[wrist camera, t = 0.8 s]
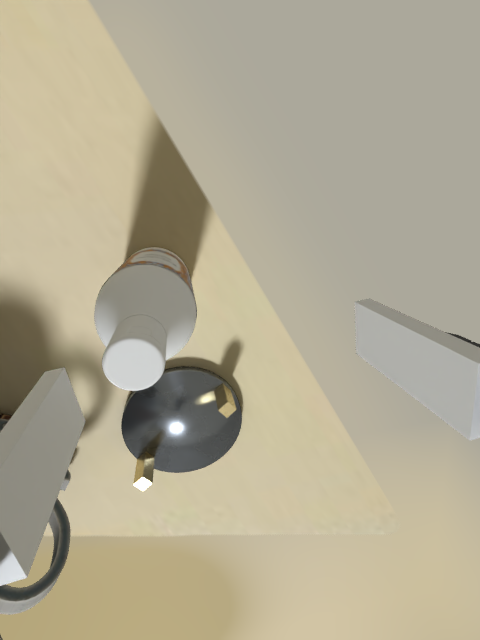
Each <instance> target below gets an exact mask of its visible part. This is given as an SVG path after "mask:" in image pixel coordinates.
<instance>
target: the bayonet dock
mask: <svg viewBox="0 0 480 640" xmlns="http://www.w3.org/2000/svg"><path fill="white" fill-rule="evenodd" d="M241 422H242V414H241V408H240V405H239V402H238V399H237V396H236V394H235V392H234V390H233V389H232V388H231V386H230V385H229V384H228V383H227V382H226V381H225V380H224V379H222V378H221V377H220V376H218V375H216V374H215V373H213V372H210V371H208V370H205V369H201V368H196V367H175V368H170V369H166V370H164V372H163V374H162V376H161V377H160V379H159V380H158V381H157V382H156V383H155V384H153V385H152V386H150V387H148V388H146V389H143V390H138V391H133V393H132V394H131V395H130V397H129V399H128V401H127V403H126V406H125V409H124V413H123V418H122V435H123V438H124V441H125V443H126V446H127V447H128V449H129V450H130V452H131V453H132V454H133V455H134V456H135V457H136V458H137V465H136V471H135V478H134V484H133V485H134V486H136V487H137V488H139V489H141V490H142V491H144V490H145V489H146V488H147V487H149V486H150V485H151V484H152V482H153V470H154V469H157V470H160V471H165V472H174V473H179V472H189V471H194V470H198V469H201V468H204V467H206V466H208V465H210V464H212V463H214V462H215V461H217V460H218V459H220V458H221V457H222V456H223V455H224V454H226V453H227V452H228V450H229V449H230V448H231V447H232V446H233V444H234V442H235V441H236V439H237V437H238V435H239V432H240V428H241Z"/></svg>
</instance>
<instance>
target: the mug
mask: <svg viewBox="0 0 480 640" xmlns="http://www.w3.org/2000/svg"><path fill="white" fill-rule="evenodd" d="M11 417H12V416H9V415H0V432H1V431H2V429H3V428H4V427H5V425H6V424H7V423H8V421H9V420H10V418H11ZM70 478H71V475H70V472H69V471H68V470H67V472H66V475H65V478H64V480H63V483H62V486H61V489H60V490H64V491H65V489H66V487H67V485H68V483H69V481H70ZM48 522H49V524H50V526H51V529H52V532H53V536H54V550H53V557H52V563H51V566H50V569H49V571H48V572H47V573H46V574H45V575H44V576H43V577H42V578H41V579H40V580H39V581H37V582H36V583H34V584H33V585H31V586H28V587H23V588H16V587H11V586H8V585H6V584H5V585H2V586H0V614H9V615H10V614H16V613H21V612H23V611H26V610H28V609H30V608H32V607H33V606H35V605H36V604H37V603H39V602H40V601H41V600H42V599H43V598H44V597H45V596H46V595H47V593H49V591H50V590H51V589H52V587H53V586H54V584H55V582H56V580H57V578H58V576H59V575H60V573H61V571H62V569H63V567H64V565H65V562H66V559H67V555H68V551H69V543H70V524H69V520H68V517H67V514H66V512H65V510H64V508H63V506H62V504H61V503H60V501H59V500H58V498H57V499H56V502H55V505H54V507H53V510H52V513H51V515H50V518H49V521H48Z"/></svg>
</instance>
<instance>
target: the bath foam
mask: <svg viewBox="0 0 480 640" xmlns="http://www.w3.org/2000/svg"><path fill="white" fill-rule="evenodd" d="M196 317H197V308H196V302H195V297H194V293H193V288H192V284H191V279H190V275H189V272H188V269H187V267H186V265H185V264H184V262H183V261H182V260H181V259H180V258H179V257H178V256H177V255H176V254H174V253H173V252H171V251H169V250H167V249H163V248H158V247H150V248H145V249H142V250H139V251H137V252H135V253H134V254H133V255H131V256H130V257H129V258H128V259H127V260H126V261H125V262H124V263H123V264H122V265H121V266H120V267H119V268H118V269H117V270H116V271H115V272H114V273H113V274H112V276H111V277H110V278H109V279H108V280H107V281H106V282H105V283H104V285H103V286H102V288H101V290H100V292H99V294H98V297H97V300H96V305H95V313H94V319H95V326H96V330H97V332H98V335H99V337H100V339H101V341H102V342H103V344H104V345H105V346H106V349H105V352H104V354H103V358H102V367H103V371H104V373H105V375H106V377H107V379H108V380H109V381H110V382H111V383H112V384H114V385H115V386H117V387H119V388H121V389H124V390H129V391H138V390H143V389H146V388H148V387H150V386H152V385H153V384H155V383H156V382H157V381H158V380H159V379H160V377H161V376H162V374H163V372H164V369H165V362H166V360H167V359H169V358H171V357H173V356H174V355H175V354H177V353H178V352H179V351H180V350H181V349H182V348H183V347H184V346H185V345H186V343H187V342H188V340H189V339H190V337H191V335H192V333H193V330H194V327H195V323H196Z"/></svg>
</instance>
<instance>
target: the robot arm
mask: <svg viewBox="0 0 480 640" xmlns="http://www.w3.org/2000/svg"><path fill="white" fill-rule="evenodd" d="M355 327H356V354H357V355H359V356H360V357H361V358H362V359H364V360H365V361H366V362H368V363H369V364H370V365H372V366H373V367H374V368H376V369H377V370H378V371H379V372H381V373H382V374H383V375H385V376H386V377H387V378H389V379H390V380H391V381H393V382H394V383H395V384H396V385H398V386H399V387H400V388H402V389H403V390H404V391H406V392H407V393H408V394H409V395H411V396H412V397H413V398H415V399H416V400H418V401H419V402H420V403H422V404H423V405H424V406H425V407H427V408H428V409H429V410H431V411H432V412H433V413H434V414H436V415H437V416H438V417H440V418H441V419H442V420H443V421H445V422H446V423H447V424H449V425H450V426H451V427H453V428H454V429H455V430H457V431H458V432H459V433H460V434H462V435H463V436H464V437H466V438H467V439H468V440H473V439H477V438H480V344H477V343H475V342H471V340H468V339H466V338H463V337H461V336H459V335H455V334H451V333H446V332H443V331H441V330H439V329H437V328H434V327H432V326H429V325H428V324H425V323H423V322H421V321H419V320H416V319H414V318H412V317H410V316H407V315H405V314H403V313H401V312H398V311H396V310H394V309H392V308H389V307H387V306H385V305H383V304H380V303H378V302H376V301H373V300H372V299H366V300H361V301H357V302H355ZM85 422H86V421H85V419H84V416H83V414H82V411H81V408H80V406H79V403H78V401H77V398H76V396H75V393H74V390H73V388H72V385H71V383H70V380H69V378H68V375H67V372H66V370H65V367H63V368H59V369H54V370H50V371H45V372H44V374H43V375H42V376H41V378H40V379H39V380H38V382H37V383H36V385H35V386H34V387H33V389H32V390H31V391H30V393H29V394H28V395H27V397H26V398H25V399H24V401H23V402H22V404H21V405H20V406H19V408H18V409H17V410H16V412H15V413H14V414H13V416H12V417H11V418H10V420H9V421H8V423H7V424H6V425H5V427H4V428H3V429H2V431H1V432H0V586H2V585H5V584H8V583H11V582H14V581H18V580H21V579H24V578H27V577H28V574H29V571H30V569H31V566H32V563H33V561H34V558H35V555H36V552H37V550H38V547H39V544H40V542H41V539H42V537H43V534H44V531H45V529H46V526H47V523H48V521H49V518H50V515H51V513H52V510H53V507H54V505H55V502H56V499H57V497H58V494H59V491H60V489H61V486H62V483H63V480H64V478H65V475H66V472H67V470H68V467H69V464H70V462H71V459H72V456H73V454H74V451H75V448H76V446H77V443H78V440H79V438H80V435H81V432H82V430H83V427H84V424H85ZM0 640H2V638H1V635H0Z"/></svg>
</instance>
